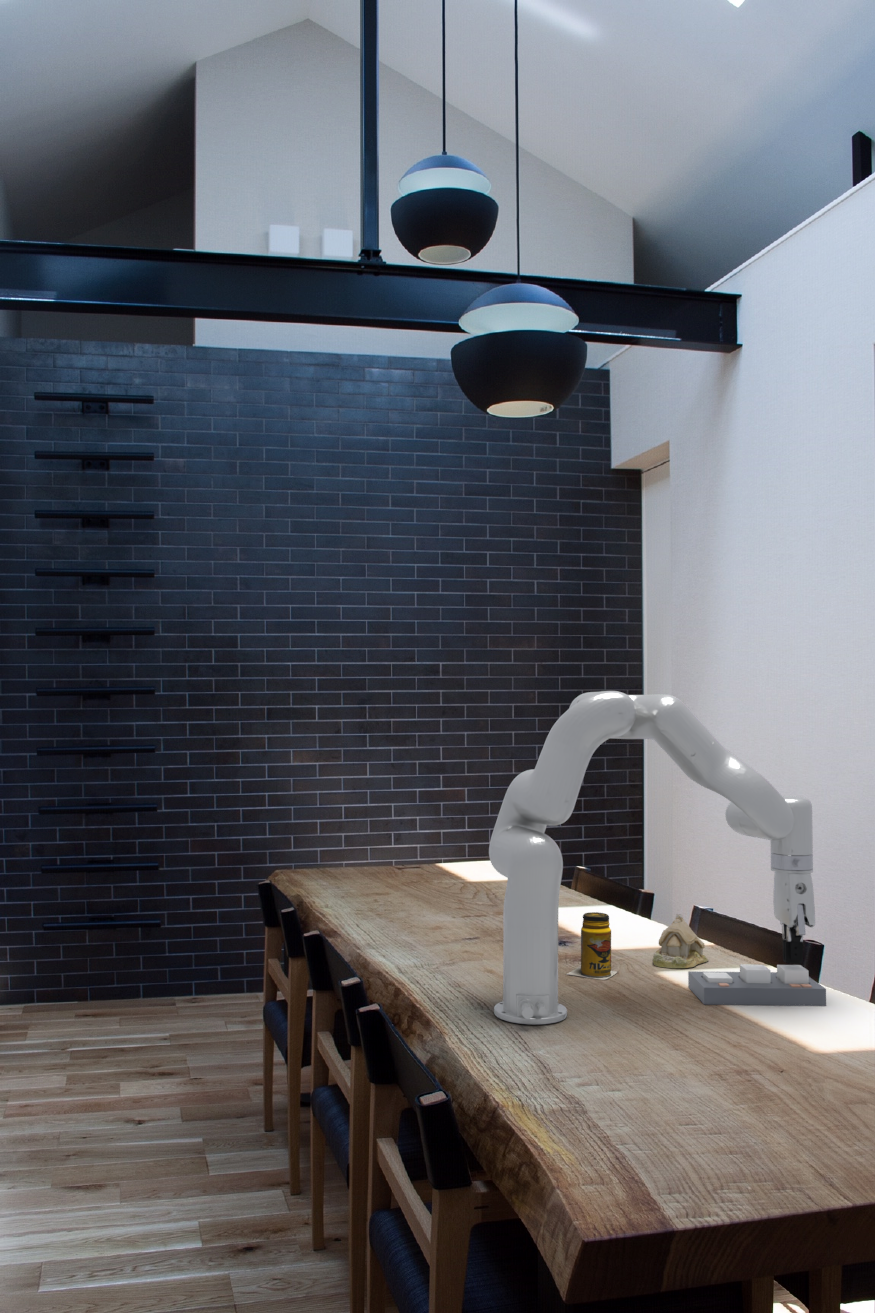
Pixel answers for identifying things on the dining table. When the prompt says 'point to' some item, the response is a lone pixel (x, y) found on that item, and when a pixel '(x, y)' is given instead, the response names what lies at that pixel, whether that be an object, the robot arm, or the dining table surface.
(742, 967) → the key
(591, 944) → the condiment
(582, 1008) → the dining table surface
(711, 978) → the key
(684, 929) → the ceramic model
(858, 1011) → the dining table surface
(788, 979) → the key
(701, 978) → the keypad
